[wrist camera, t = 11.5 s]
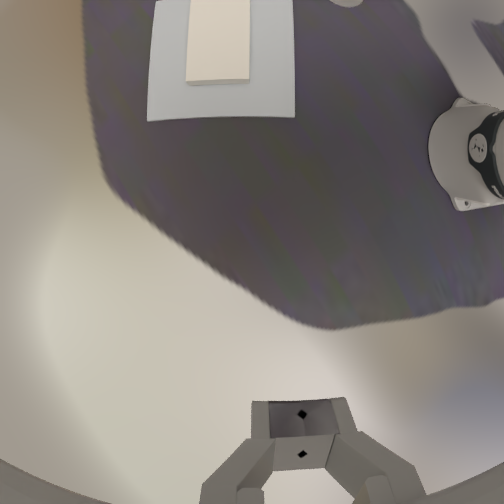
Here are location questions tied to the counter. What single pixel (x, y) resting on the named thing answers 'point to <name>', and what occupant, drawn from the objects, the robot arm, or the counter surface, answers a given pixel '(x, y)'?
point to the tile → (218, 42)
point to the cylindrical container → (347, 2)
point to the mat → (223, 95)
